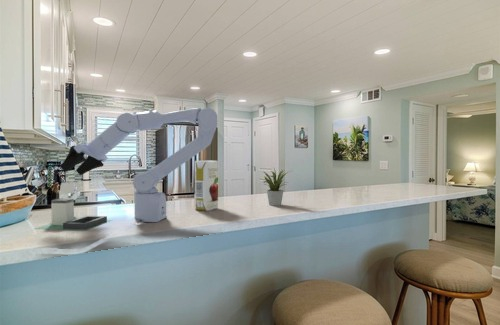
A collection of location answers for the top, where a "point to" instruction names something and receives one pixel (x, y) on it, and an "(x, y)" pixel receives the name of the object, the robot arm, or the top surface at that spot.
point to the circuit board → (79, 223)
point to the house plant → (275, 188)
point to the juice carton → (206, 185)
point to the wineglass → (70, 190)
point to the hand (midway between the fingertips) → (70, 171)
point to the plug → (62, 211)
